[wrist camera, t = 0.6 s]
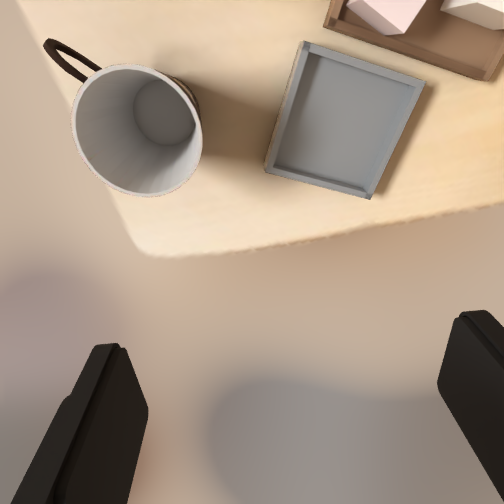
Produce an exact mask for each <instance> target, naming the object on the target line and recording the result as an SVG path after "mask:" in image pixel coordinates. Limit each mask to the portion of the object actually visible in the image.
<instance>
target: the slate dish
mask: <svg viewBox="0 0 504 504" xmlns="http://www.w3.org/2000/svg"><path fill="white" fill-rule="evenodd" d="M425 83H426V81H423V80H420V79H417V78H414V77H411V76H408V75H405V74H402V73H399V72H396V71H393V70H390V69H387V68H384V67H381V66H378V65H375V64H372V63H369V62H366V61H363V60H360V59H357V58H354V57H351V56H348V55H345V54H342V53H339V52H336V51H333V50H330V49H327V48H324V47H321V46H318V45H315V44H312V43H309V42H306V41H300V43H299V47H298V50H297V53H296V57H295V60H294V63H293V67H292V70H291V74H290V77H289V80H288V84H287V87H286V91H285V94H284V97H283V101H282V104H281V107H280V111H279V114H278V118H277V121H276V124H275V128H274V131H273V134H272V138H271V141H270V145H269V148H268V151H267V155H266V158H265V162H264V165H263V166H264V171H265V172H266V173H270V174H274V175H278V176H282V177H285V178H289V179H293V180H297V181H301V182H304V183H308V184H312V185H316V186H319V187H323V188H327V189H331V190H335V191H338V192H342V193H346V194H350V195H354V196H357V197H361V198H365V199H369V200H370V199H371V197H372V195H373V193H374V191H375V189H376V186H377V184H378V182H379V180H380V178H381V176H382V174H383V172H384V170H385V167H386V165H387V163H388V161H389V159H390V157H391V155H392V153H393V151H394V148H395V146H396V144H397V142H398V140H399V138H400V136H401V134H402V132H403V130H404V127H405V125H406V123H407V121H408V119H409V117H410V115H411V113H412V111H413V108H414V106H415V104H416V102H417V100H418V98H419V96H420V94H421V92H422V89H423V87H424V85H425Z"/></svg>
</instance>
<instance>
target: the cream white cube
mask: <svg viewBox="0 0 504 504" xmlns="http://www.w3.org/2000/svg"><path fill="white" fill-rule="evenodd" d="M440 10H441V11H444V12H446V13H449V14H452V15H454V16H457V17H460V18H462V19H465V20H468V21H470V22H473V23H475V24H478V25H481V26H483V27H486V28H489V29H491V30H498V29H504V0H444V2H443V4H442V6H441V9H440Z"/></svg>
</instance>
